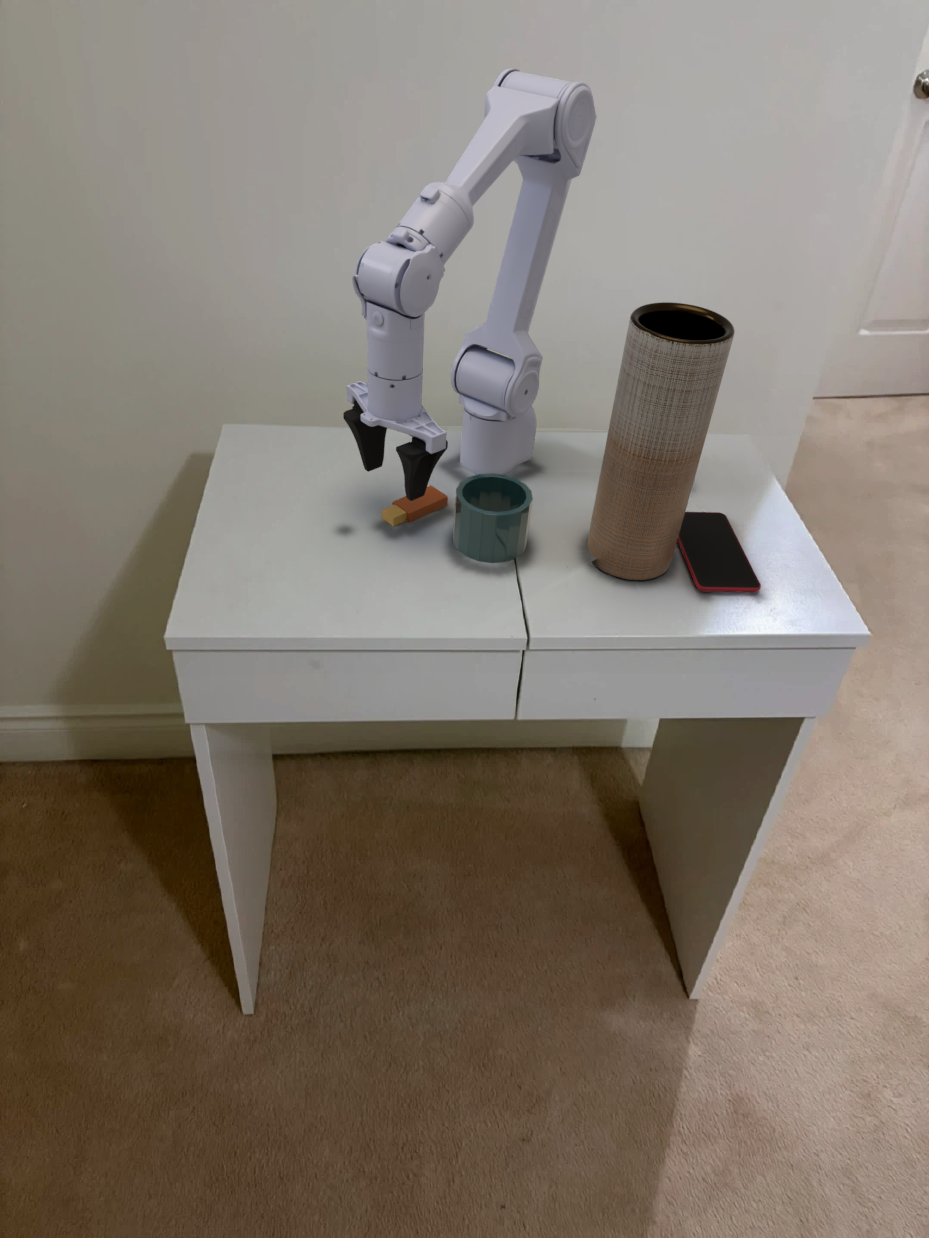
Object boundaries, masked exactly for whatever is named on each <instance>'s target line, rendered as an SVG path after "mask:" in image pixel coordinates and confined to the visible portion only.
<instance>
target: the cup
mask: <svg viewBox="0 0 929 1238" xmlns="http://www.w3.org/2000/svg"><path fill="white" fill-rule="evenodd" d="M454 499H455V501H454V517H453V530H452V531H453V532H452V541H453V545H454V546H455V548H456V550H457V551H458V552H459V553H461V554H462V555H463V556H465V557H467V558H469V559H471V560H475V561H477V562H480V563H488V564H498V563H506V562H510V561H512V560H515V559H517V558H518V557H520V556H521V555H522V554H523V553H524V552H525V550H526V548H527V546H528V545H527V544H528V538H529V537H528V536H529V529H530V522H531V514H532V509H533V508H532V506H533V500H534V498H533V493H532V490H531V489H530V487H529V486H528V485H527V484H526V483H525V482H522V481H521V480H519V479H518V478H515V477H512V476H510V475H506V474H503V475H502V474H493V473H492V474H474V475H471V476H468V477H466V478H465V479H463V480H462V481H460V482H459V483H458V485H457V486H456V489H455V498H454Z"/></svg>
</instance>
